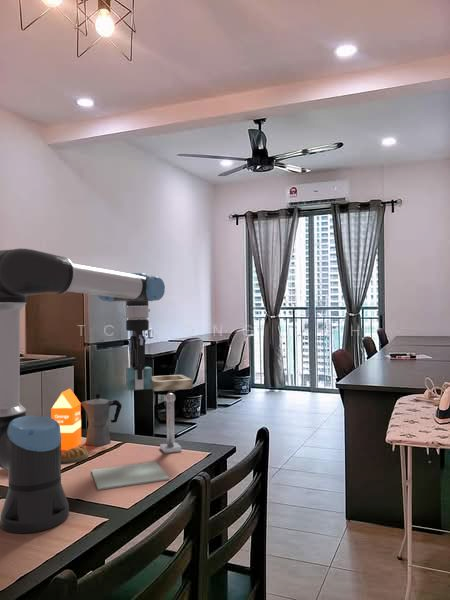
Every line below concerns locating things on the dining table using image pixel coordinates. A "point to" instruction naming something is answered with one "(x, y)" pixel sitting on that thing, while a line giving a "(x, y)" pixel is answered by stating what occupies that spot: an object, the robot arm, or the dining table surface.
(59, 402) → the orange juice
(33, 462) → the robot arm
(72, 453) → the pastry
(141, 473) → the mat
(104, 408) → the coffeepot
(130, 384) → the sponge holder
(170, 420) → the stand
